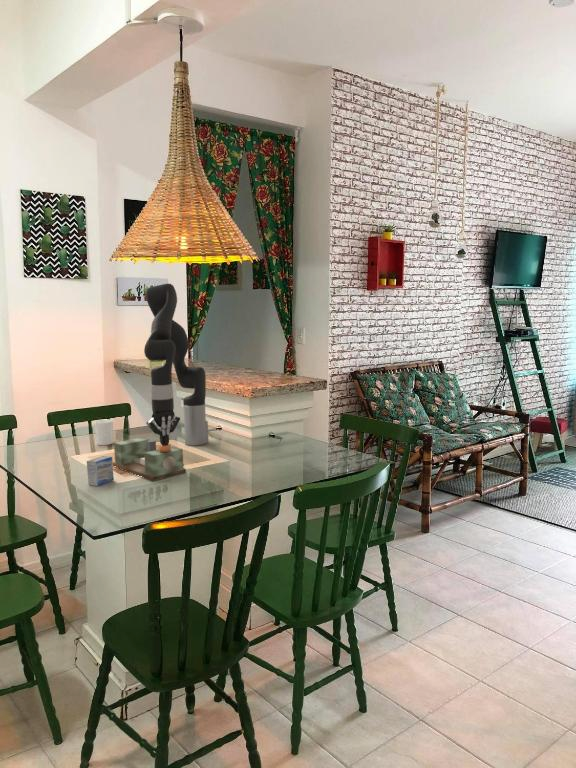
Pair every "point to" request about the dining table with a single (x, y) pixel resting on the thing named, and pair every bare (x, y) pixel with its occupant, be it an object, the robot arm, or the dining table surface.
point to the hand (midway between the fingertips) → (164, 445)
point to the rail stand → (148, 460)
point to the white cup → (104, 431)
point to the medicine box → (100, 470)
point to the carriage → (149, 449)
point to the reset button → (165, 448)
